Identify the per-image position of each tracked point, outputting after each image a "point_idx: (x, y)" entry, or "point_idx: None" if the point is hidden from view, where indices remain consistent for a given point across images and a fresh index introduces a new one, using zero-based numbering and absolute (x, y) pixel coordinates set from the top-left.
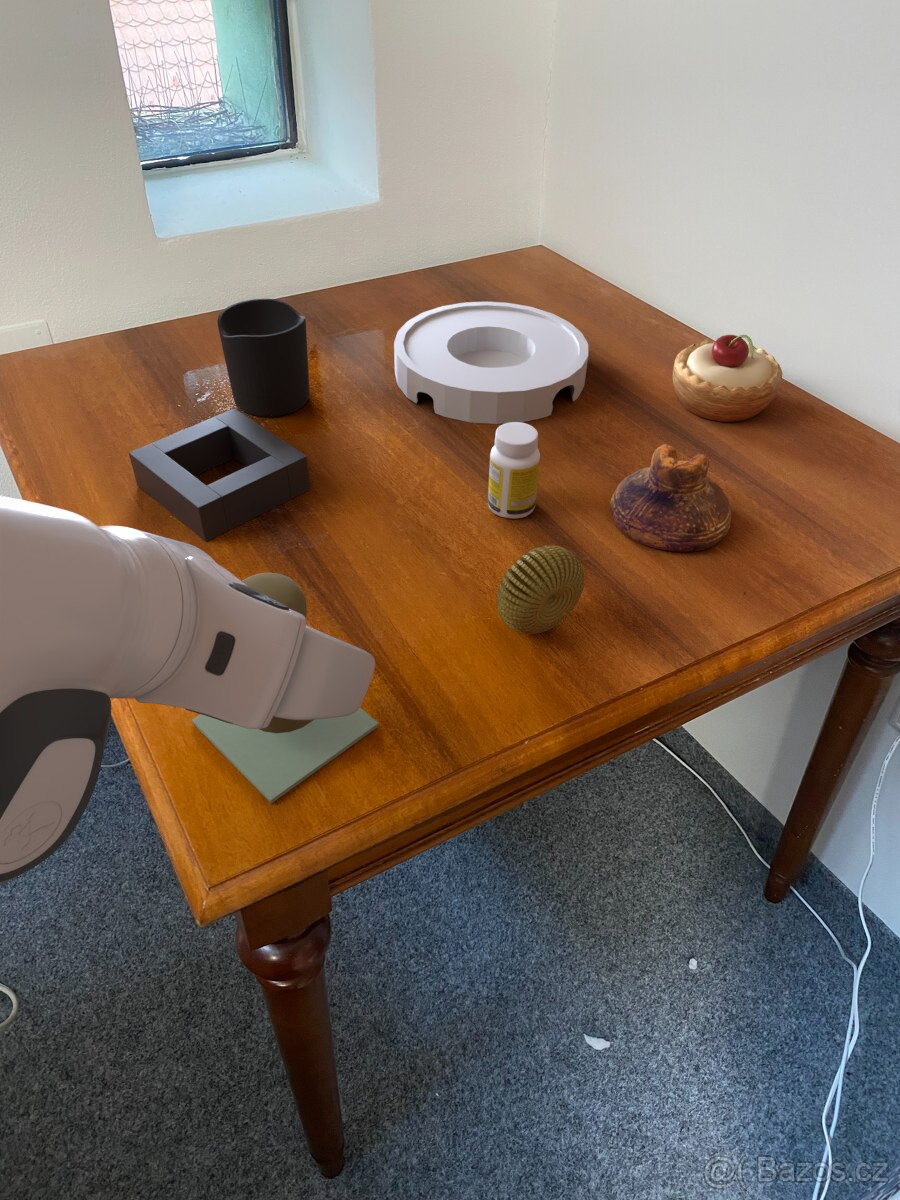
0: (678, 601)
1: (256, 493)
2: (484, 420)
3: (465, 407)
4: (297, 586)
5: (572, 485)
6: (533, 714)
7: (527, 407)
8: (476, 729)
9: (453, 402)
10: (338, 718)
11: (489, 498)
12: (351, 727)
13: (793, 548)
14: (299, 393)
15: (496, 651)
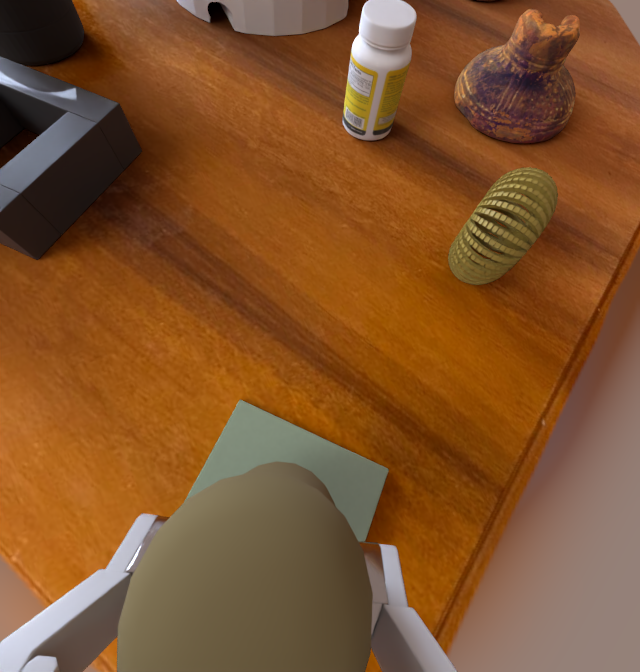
0: (567, 197)
1: (74, 174)
2: (289, 30)
3: (268, 14)
4: (329, 528)
5: (408, 90)
6: (529, 381)
7: (329, 6)
8: (488, 426)
9: (254, 9)
10: (339, 483)
11: (349, 120)
12: (361, 491)
13: (614, 117)
14: (68, 21)
15: (450, 311)
